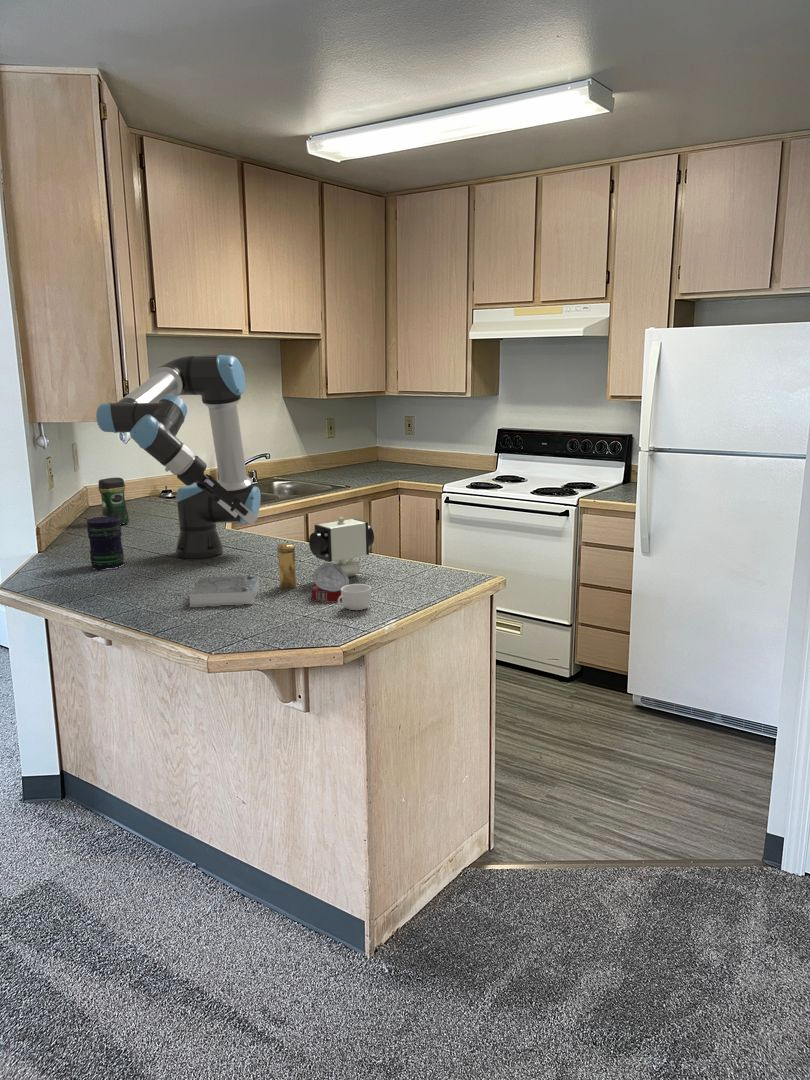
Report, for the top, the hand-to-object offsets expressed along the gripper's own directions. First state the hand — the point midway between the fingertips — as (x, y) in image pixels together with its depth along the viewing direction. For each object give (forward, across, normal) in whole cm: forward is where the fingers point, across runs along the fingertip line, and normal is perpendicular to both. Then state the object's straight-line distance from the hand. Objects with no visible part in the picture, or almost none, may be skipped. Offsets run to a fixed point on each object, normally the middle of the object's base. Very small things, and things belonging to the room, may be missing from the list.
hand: (246, 517), depth 214 cm
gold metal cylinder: (+23, -1, -7) cm, 24 cm away
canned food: (+27, +14, -3) cm, 31 cm away
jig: (+10, 0, -20) cm, 22 cm away
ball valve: (+35, -2, +5) cm, 35 cm away
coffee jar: (+4, -121, -24) cm, 123 cm away
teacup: (+28, +28, -3) cm, 39 cm away
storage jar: (-5, -53, -35) cm, 64 cm away
